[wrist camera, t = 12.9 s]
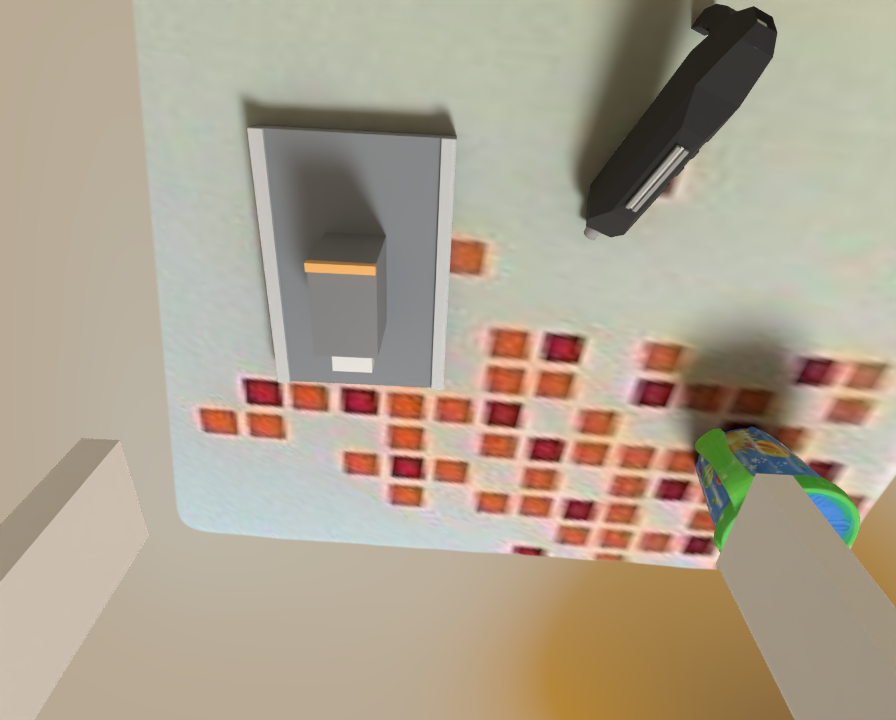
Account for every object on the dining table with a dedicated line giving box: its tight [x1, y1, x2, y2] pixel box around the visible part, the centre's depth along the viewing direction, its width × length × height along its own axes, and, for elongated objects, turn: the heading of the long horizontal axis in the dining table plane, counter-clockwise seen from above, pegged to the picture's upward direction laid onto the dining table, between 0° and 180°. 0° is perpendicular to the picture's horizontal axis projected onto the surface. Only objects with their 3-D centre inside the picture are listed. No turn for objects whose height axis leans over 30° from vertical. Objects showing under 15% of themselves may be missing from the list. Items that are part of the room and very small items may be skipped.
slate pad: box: [247, 125, 457, 390], centre depth 42 cm, size 20×14×2 cm
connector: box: [304, 233, 387, 373], centre depth 40 cm, size 10×4×6 cm, turn 177°
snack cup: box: [695, 427, 860, 553], centre depth 48 cm, size 16×10×10 cm
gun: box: [584, 4, 777, 240], centre depth 36 cm, size 3×16×10 cm, turn 157°
